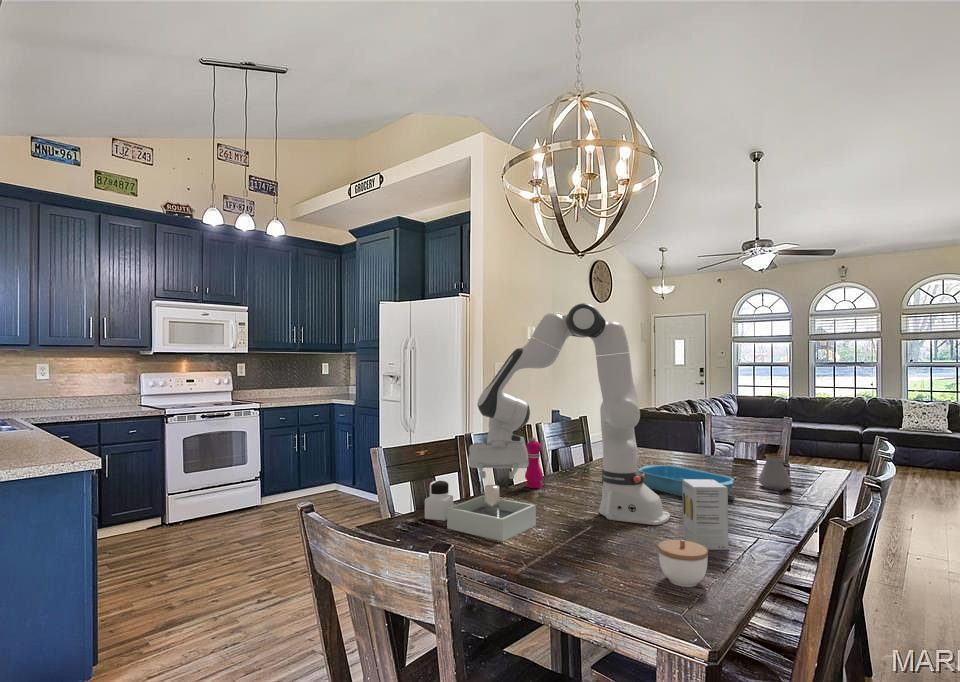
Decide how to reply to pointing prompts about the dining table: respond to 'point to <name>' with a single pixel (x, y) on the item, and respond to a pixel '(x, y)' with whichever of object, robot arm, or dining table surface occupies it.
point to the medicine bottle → (438, 501)
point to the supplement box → (705, 513)
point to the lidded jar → (683, 562)
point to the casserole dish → (677, 478)
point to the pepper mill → (533, 465)
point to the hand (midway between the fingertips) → (497, 477)
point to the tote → (491, 519)
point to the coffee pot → (774, 472)
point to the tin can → (492, 500)
